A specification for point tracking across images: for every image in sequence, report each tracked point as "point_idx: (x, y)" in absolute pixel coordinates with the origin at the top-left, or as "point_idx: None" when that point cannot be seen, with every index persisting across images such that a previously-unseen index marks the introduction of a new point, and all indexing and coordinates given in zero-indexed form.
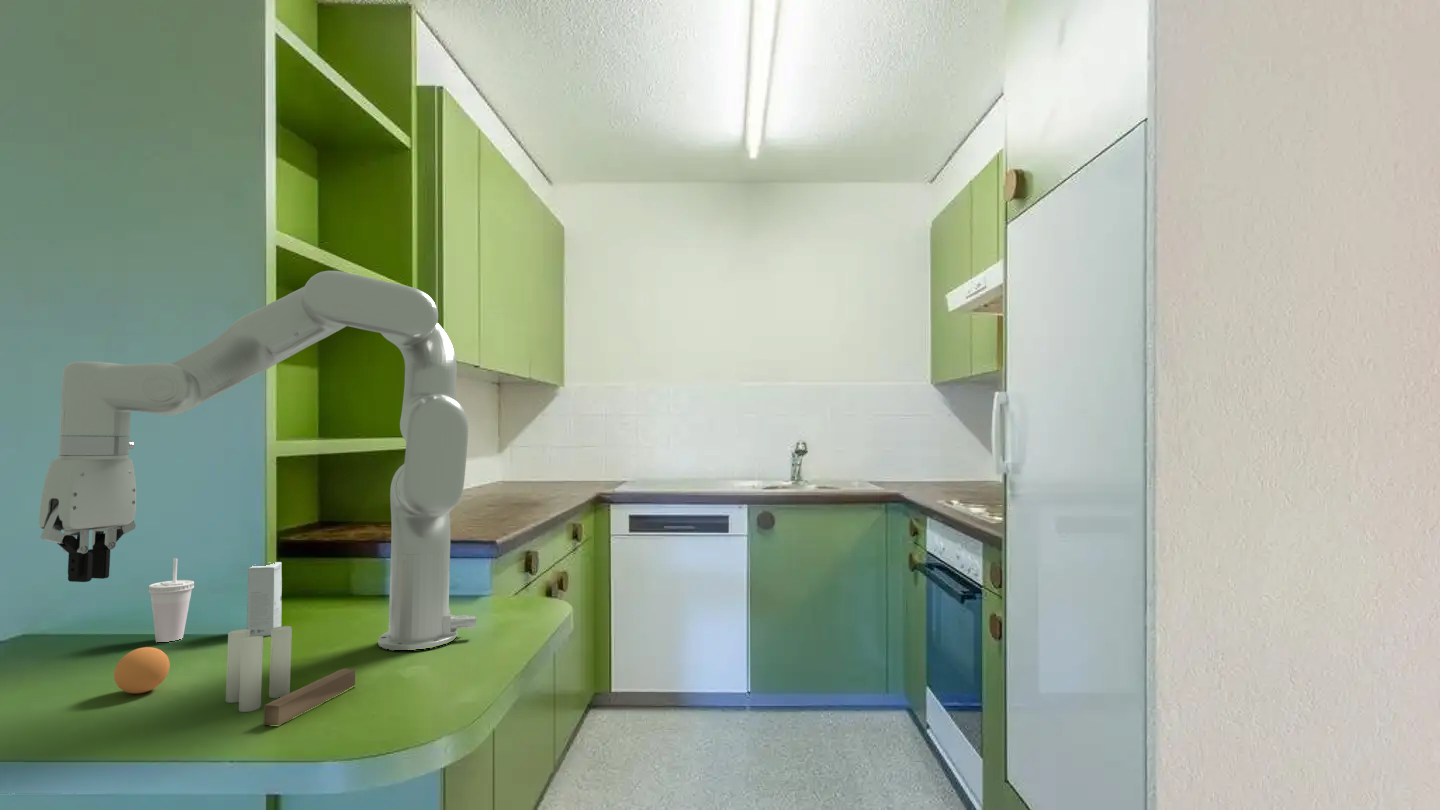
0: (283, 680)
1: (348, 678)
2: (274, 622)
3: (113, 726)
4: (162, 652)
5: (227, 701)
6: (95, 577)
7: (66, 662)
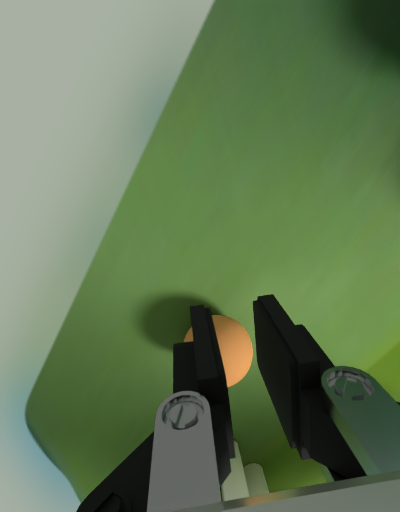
0: None
1: None
2: None
3: (121, 411)
4: (239, 380)
5: None
6: (255, 337)
7: (300, 26)
